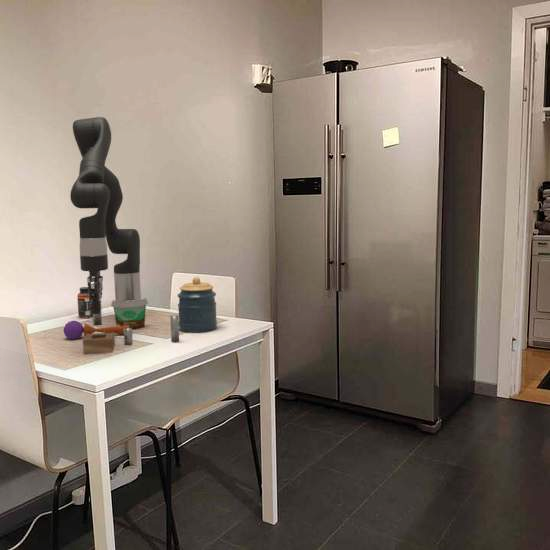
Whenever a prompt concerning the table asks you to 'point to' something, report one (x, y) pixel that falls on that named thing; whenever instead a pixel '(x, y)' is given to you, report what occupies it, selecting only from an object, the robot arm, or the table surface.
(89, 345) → the hole block
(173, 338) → the medium pin
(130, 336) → the short pin
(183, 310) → the canister
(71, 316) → the table surface
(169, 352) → the table surface
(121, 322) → the food container
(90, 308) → the supplement bottle
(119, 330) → the kendama
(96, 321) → the long pin
